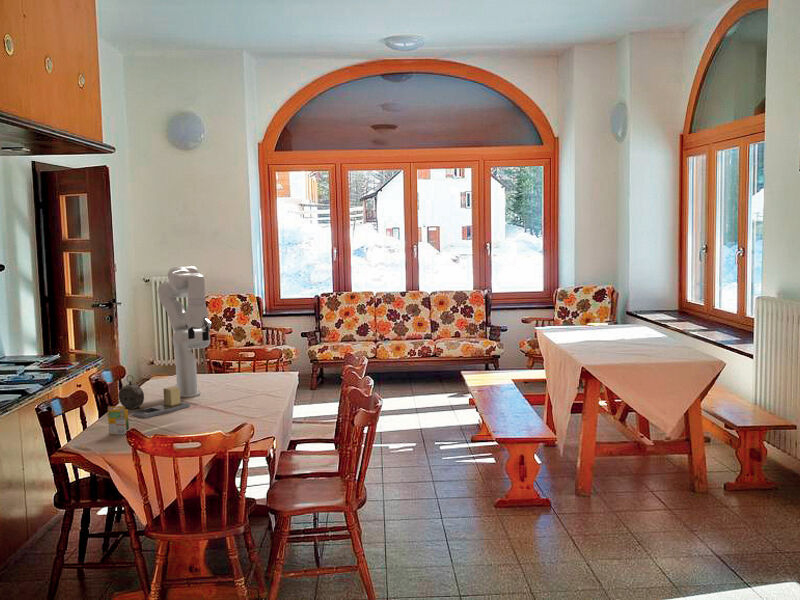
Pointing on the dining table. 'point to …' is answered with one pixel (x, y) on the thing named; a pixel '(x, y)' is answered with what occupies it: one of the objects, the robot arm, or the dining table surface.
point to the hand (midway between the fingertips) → (198, 339)
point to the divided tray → (158, 410)
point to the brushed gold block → (171, 396)
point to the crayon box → (118, 420)
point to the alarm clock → (131, 396)
